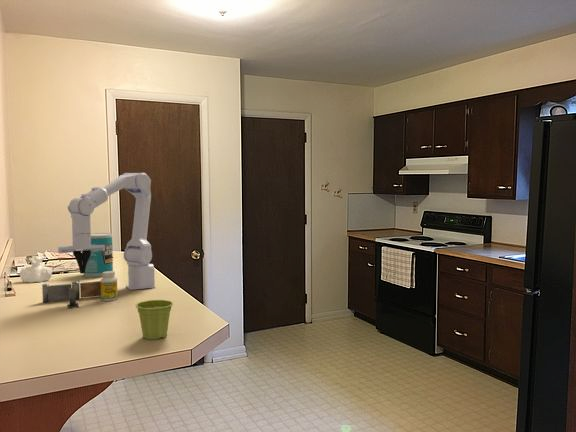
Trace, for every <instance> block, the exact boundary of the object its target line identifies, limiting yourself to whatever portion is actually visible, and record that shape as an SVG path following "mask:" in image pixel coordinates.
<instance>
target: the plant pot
mask: <svg viewBox="0 0 576 432" xmlns="http://www.w3.org/2000/svg"><path fill="white" fill-rule="evenodd" d="M173 305H174V301H171V300H167V299H166V300H165V299H150V300H145V301H140V302H138V303H136V304H135V308H136V310H137V313H138V315H139V320H140V328H141V332H142V333H141V334H142V338H143V339H144V338H145V339H147V340H159V339H160V338H166V337H167V335H168V330H169V322H170V321H169V320H170V314H171V313H170V312H171V311H172V306H173Z"/></svg>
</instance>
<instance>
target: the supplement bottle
mask: <svg viewBox="0 0 576 432" xmlns="http://www.w3.org/2000/svg"><path fill="white" fill-rule="evenodd" d="M102 276H103V277H101V278H100V281H101V296H100V299H101V301H104V302H113V301H116V300H117V299H118V297H119V296H118V278H117V277H115V276H116V272H115V271H114V270H113V271H106V272H103V273H102Z"/></svg>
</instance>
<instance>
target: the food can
mask: <svg viewBox="0 0 576 432" xmlns="http://www.w3.org/2000/svg"><path fill="white" fill-rule="evenodd" d="M91 245H105V251H91V255H90V257H89V260H88V262H87V265H86V269H85V273H82V275H83V277H85V278H92V279H93V278H95V279H96V278H103V276H102V273H103V272H106V271H114V267H113V266H114V265H113V264H114V262H113V261H114V259H113V258H114V257H113V255H114V254H113V235H112V233H110V232H93V233H91ZM84 250H88V249H84Z"/></svg>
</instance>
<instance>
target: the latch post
mask: <svg viewBox="0 0 576 432" xmlns="http://www.w3.org/2000/svg"><path fill="white" fill-rule="evenodd" d="M68 302H69V303H68V304H67V305H66V308H67V310H68V309H76V308H79V307H80V306H79V305H80V304H79V303H77V300H76V288H70V289H69V300H68Z"/></svg>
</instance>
